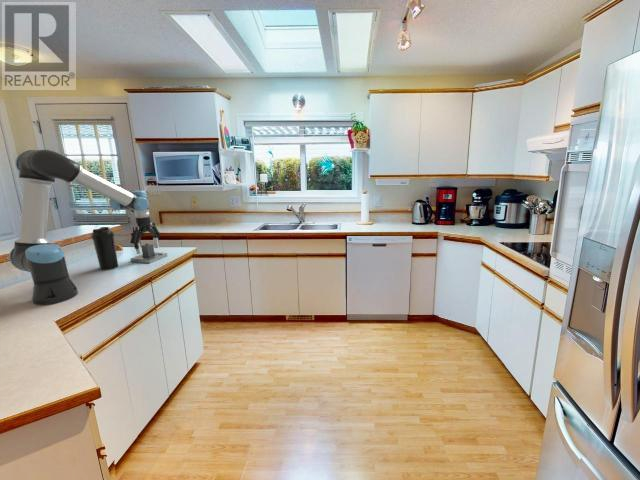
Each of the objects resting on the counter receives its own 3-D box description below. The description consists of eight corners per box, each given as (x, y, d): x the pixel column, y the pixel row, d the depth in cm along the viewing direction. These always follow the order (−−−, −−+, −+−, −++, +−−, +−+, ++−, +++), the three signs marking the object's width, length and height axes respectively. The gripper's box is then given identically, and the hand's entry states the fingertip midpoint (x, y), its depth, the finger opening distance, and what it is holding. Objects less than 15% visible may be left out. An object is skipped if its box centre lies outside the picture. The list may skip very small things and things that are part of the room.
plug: (149, 260, 181) (146, 244, 179) (143, 259, 183) (140, 243, 180) (155, 258, 185) (152, 242, 183) (149, 257, 187) (146, 241, 184)
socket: (149, 263, 176) (149, 259, 175) (130, 261, 179) (130, 257, 179) (167, 256, 189) (166, 252, 188) (149, 254, 192) (148, 250, 192)
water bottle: (124, 264, 174) (116, 226, 168) (110, 270, 164) (102, 230, 158) (108, 264, 175) (100, 226, 169) (93, 270, 165) (85, 230, 159)
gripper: (129, 220, 165) (136, 257, 170) (163, 213, 188) (168, 245, 193) (118, 220, 167) (125, 256, 172) (153, 213, 190) (158, 245, 195)
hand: (148, 250), depth 183 cm, fingers open, 13 cm apart
